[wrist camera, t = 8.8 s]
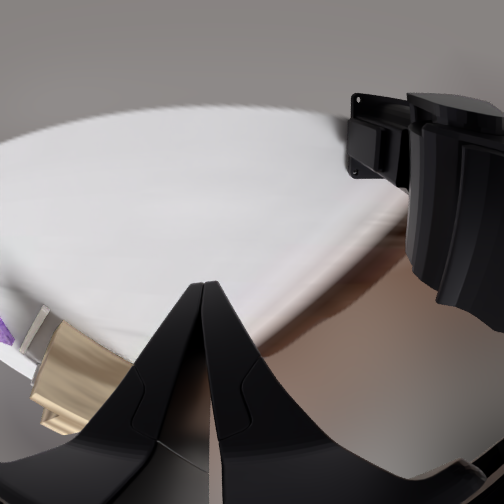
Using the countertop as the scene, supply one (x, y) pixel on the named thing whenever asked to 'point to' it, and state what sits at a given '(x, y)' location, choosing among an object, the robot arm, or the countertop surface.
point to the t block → (75, 379)
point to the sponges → (5, 334)
